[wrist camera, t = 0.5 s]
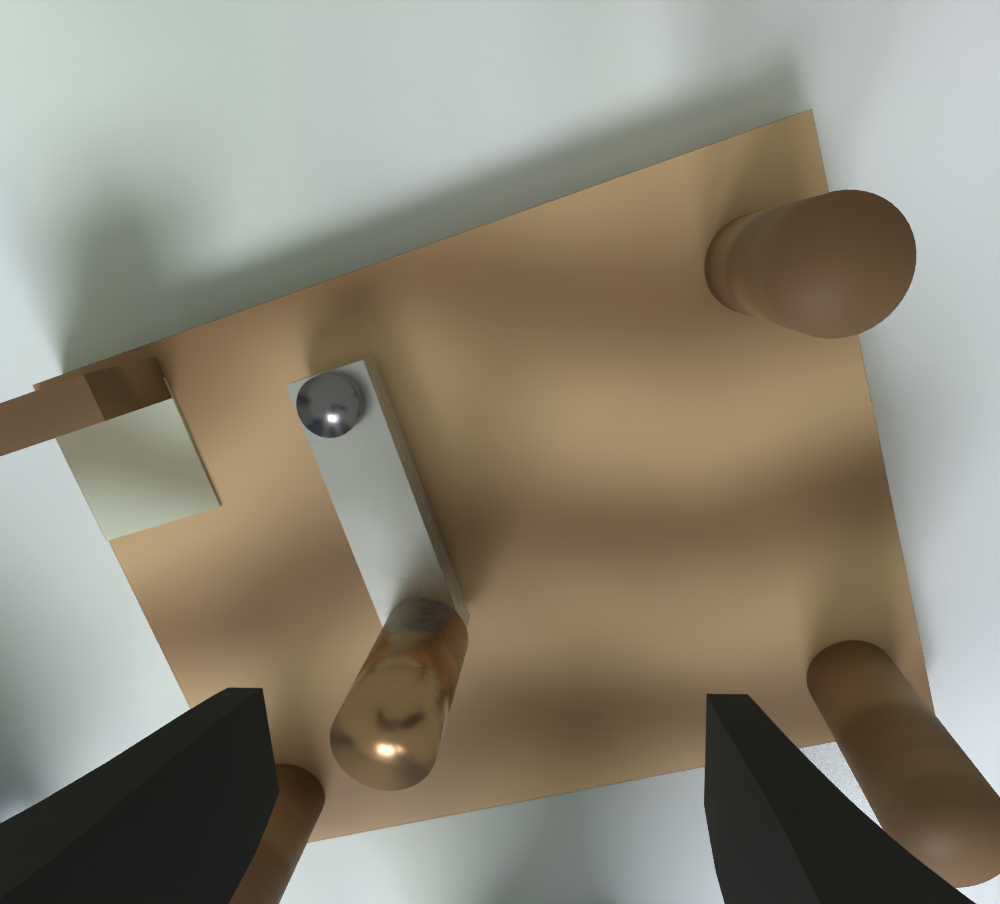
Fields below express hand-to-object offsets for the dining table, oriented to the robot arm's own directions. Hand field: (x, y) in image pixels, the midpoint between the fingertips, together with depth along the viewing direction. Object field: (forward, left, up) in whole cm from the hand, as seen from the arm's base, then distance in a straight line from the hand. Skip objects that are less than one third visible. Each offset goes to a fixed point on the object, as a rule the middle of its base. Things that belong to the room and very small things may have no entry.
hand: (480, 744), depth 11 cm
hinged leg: (+2, +3, -9) cm, 9 cm away
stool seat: (0, +1, -10) cm, 10 cm away
